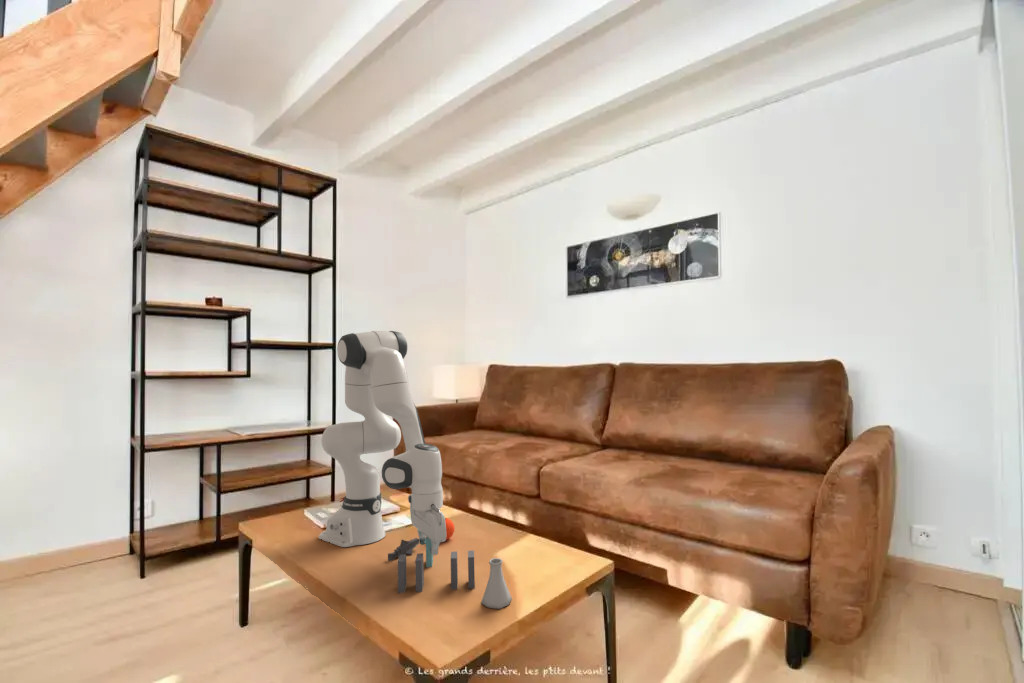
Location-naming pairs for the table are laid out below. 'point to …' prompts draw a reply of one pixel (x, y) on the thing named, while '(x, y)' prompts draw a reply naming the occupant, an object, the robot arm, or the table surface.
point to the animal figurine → (404, 548)
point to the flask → (496, 587)
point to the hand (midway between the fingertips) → (428, 549)
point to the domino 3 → (428, 553)
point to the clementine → (449, 528)
